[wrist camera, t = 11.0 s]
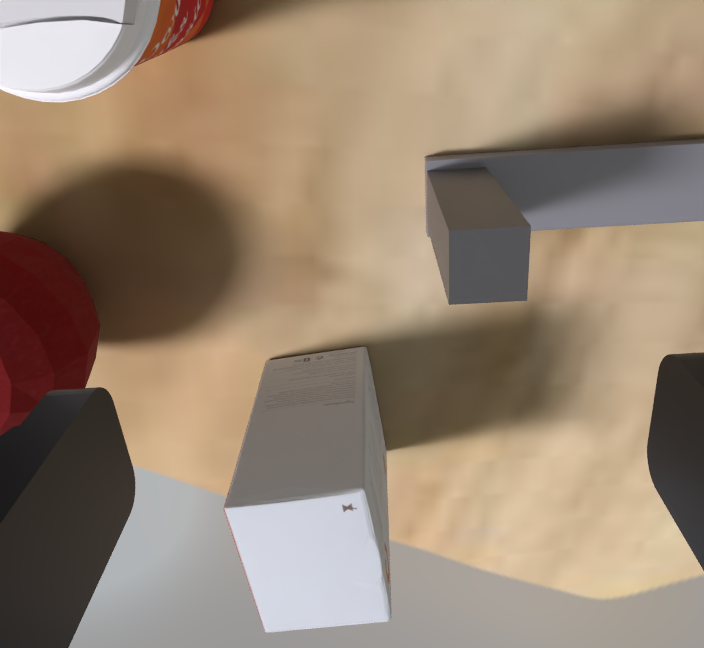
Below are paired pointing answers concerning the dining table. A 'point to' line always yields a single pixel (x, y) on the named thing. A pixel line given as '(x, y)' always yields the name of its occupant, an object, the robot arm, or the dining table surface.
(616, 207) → the grey l-shaped bracket
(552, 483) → the dining table surface
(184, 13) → the paper cup
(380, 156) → the dining table surface
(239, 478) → the small box
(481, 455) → the dining table surface
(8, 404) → the apple
